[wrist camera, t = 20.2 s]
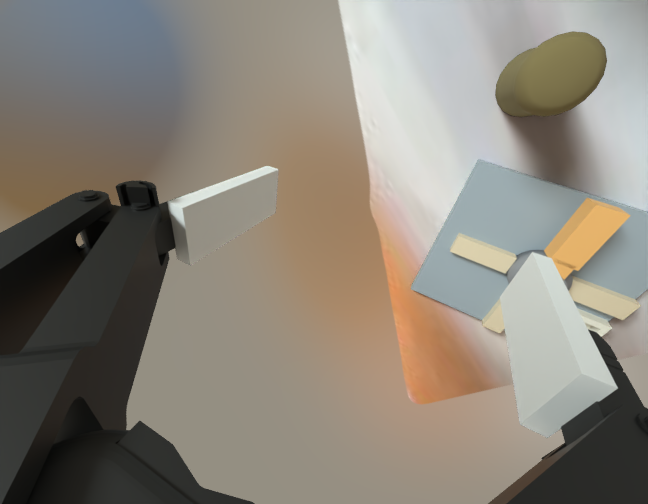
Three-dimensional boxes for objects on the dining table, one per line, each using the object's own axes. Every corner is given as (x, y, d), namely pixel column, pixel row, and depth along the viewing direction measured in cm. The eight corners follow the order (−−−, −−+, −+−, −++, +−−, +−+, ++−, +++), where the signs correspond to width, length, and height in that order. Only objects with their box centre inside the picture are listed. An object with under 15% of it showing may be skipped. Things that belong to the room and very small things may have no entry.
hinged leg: (545, 298, 33) (550, 311, 32) (507, 283, 34) (510, 294, 33) (627, 210, 27) (640, 218, 25) (578, 194, 28) (587, 201, 26)
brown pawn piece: (580, 90, 26) (639, 84, 18) (509, 129, 30) (530, 140, 21) (555, 29, 25) (605, -9, 16) (485, 77, 29) (495, 66, 20)
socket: (541, 293, 35) (544, 300, 34) (606, 319, 33) (612, 328, 32) (507, 331, 39) (508, 338, 38) (563, 356, 37) (567, 364, 36)
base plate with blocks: (478, 159, 32) (480, 165, 29) (703, 229, 27) (732, 244, 24) (411, 284, 43) (408, 297, 40) (563, 351, 38) (571, 371, 35)
